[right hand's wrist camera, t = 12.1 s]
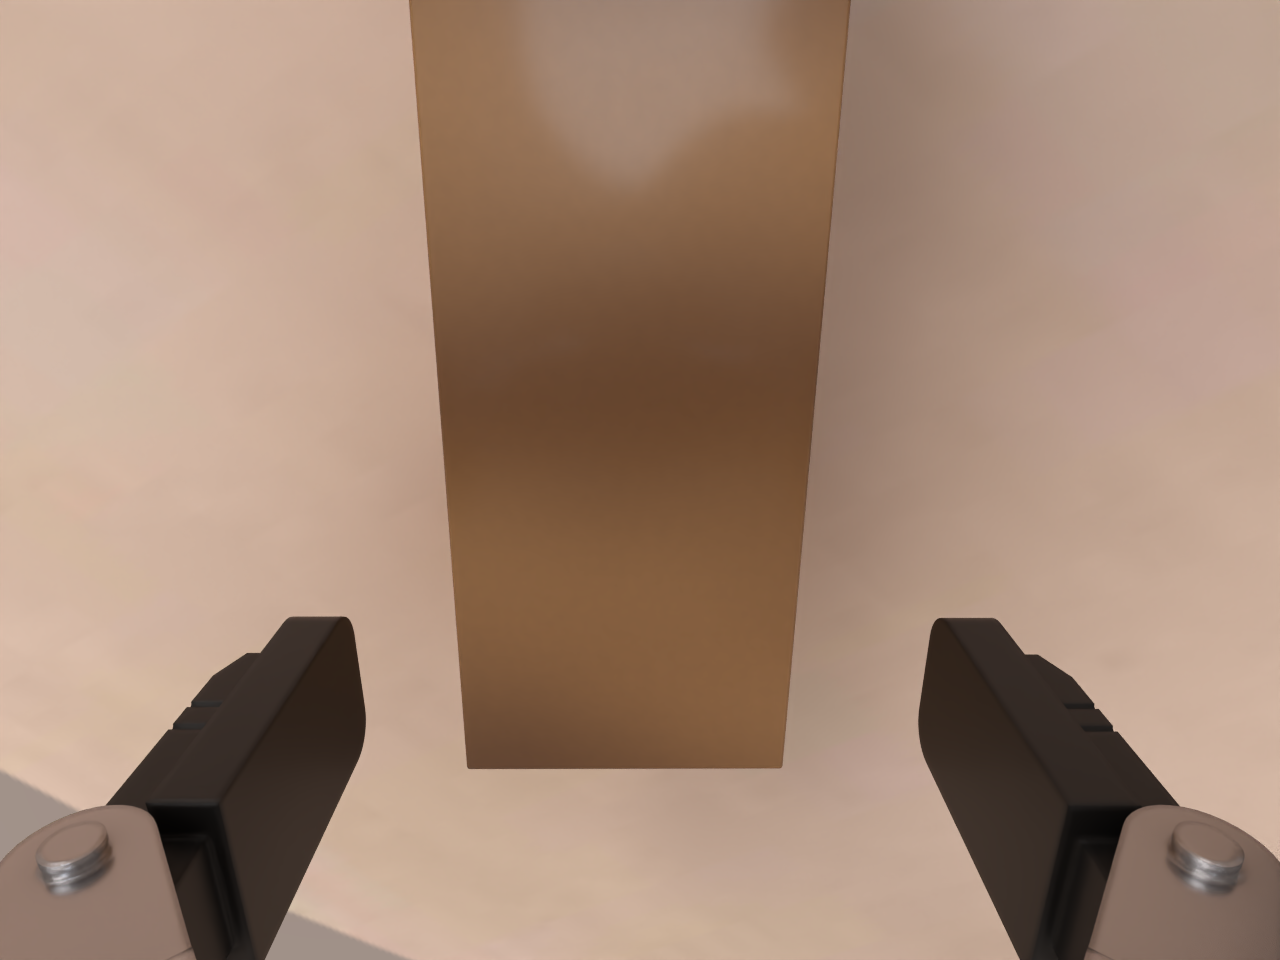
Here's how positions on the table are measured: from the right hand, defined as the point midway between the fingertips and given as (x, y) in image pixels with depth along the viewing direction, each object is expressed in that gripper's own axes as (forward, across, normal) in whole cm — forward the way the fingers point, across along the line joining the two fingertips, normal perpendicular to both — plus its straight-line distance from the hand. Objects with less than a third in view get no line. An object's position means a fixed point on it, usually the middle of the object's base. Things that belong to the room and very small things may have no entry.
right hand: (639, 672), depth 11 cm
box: (+14, 0, -9) cm, 17 cm away
